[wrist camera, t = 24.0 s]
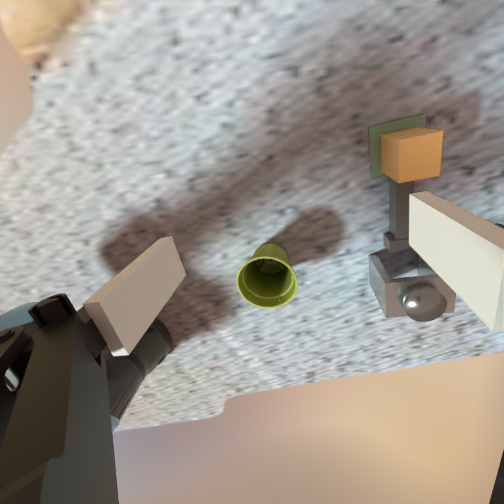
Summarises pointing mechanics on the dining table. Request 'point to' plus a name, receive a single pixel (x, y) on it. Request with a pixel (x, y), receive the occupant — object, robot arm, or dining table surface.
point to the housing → (411, 292)
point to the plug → (407, 175)
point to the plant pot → (267, 278)
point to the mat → (388, 128)
